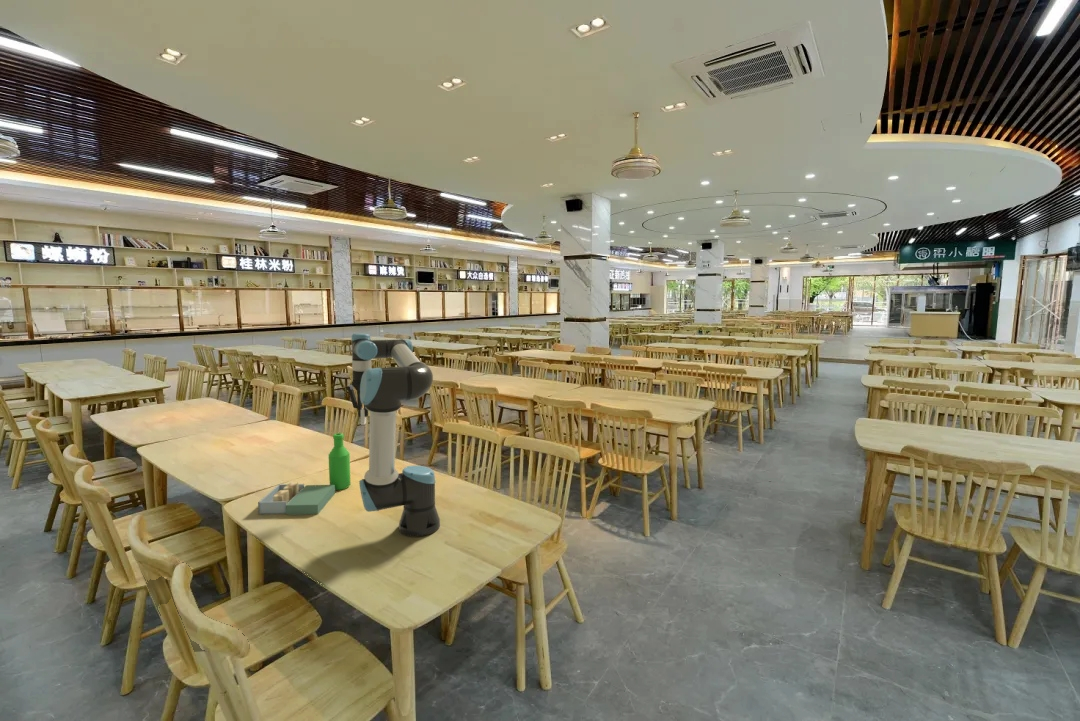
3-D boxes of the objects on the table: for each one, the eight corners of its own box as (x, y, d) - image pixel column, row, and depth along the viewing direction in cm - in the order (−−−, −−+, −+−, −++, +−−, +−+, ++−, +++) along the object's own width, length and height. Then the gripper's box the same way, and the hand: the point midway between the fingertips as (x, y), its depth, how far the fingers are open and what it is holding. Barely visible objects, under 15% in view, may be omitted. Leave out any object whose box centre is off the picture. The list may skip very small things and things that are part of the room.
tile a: (282, 496, 185) (272, 496, 185) (282, 510, 186) (273, 510, 186) (288, 490, 191) (279, 490, 191) (289, 503, 192) (280, 504, 192)
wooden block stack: (292, 488, 193) (283, 488, 193) (292, 501, 194) (284, 501, 194) (298, 482, 199) (289, 482, 199) (298, 495, 200) (290, 495, 200)
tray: (286, 513, 184) (285, 501, 184) (258, 514, 183) (258, 502, 183) (304, 494, 202) (304, 483, 202) (279, 495, 201) (278, 484, 201)
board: (318, 514, 185) (317, 504, 184) (286, 514, 184) (286, 505, 183) (335, 493, 204) (334, 484, 204) (306, 493, 203) (306, 485, 203)
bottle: (354, 483, 215) (352, 431, 212) (344, 491, 207) (342, 437, 203) (336, 482, 216) (334, 431, 213) (325, 490, 207) (323, 436, 204)
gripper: (379, 368, 200) (381, 421, 203) (348, 368, 199) (350, 421, 202) (375, 371, 192) (377, 426, 196) (343, 371, 191) (345, 426, 194)
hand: (363, 423), depth 199 cm, fingers closed
